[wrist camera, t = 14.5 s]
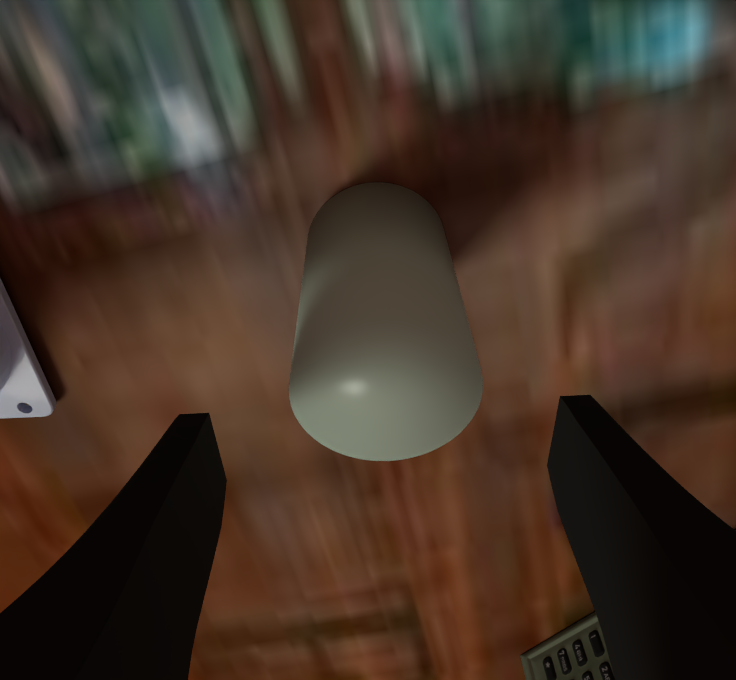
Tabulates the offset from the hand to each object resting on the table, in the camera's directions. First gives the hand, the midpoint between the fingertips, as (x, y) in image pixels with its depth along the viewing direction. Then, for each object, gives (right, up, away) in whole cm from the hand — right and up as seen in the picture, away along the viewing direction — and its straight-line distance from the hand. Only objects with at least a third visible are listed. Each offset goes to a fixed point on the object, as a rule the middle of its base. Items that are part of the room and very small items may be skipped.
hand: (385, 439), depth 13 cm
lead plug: (0, +5, +7) cm, 8 cm away
